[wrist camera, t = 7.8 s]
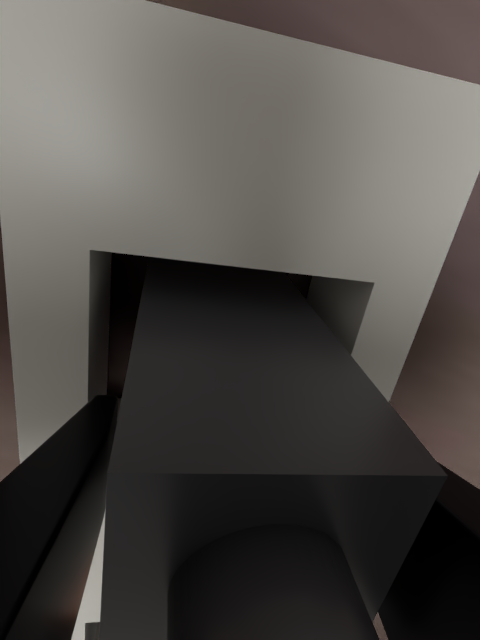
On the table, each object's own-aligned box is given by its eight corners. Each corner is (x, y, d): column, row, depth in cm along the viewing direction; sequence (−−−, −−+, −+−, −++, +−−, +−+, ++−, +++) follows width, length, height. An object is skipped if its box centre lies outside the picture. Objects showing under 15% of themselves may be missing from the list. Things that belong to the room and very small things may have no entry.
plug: (258, 381, 14) (424, 859, 5) (139, 374, 13) (61, 943, 4) (283, 271, 12) (611, 678, 3) (149, 254, 11) (52, 749, 2)
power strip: (244, 648, 21) (261, 769, 17) (64, 666, 19) (36, 808, 15) (409, 104, 11) (556, 87, 7) (48, 21, 9) (-58, -76, 5)
